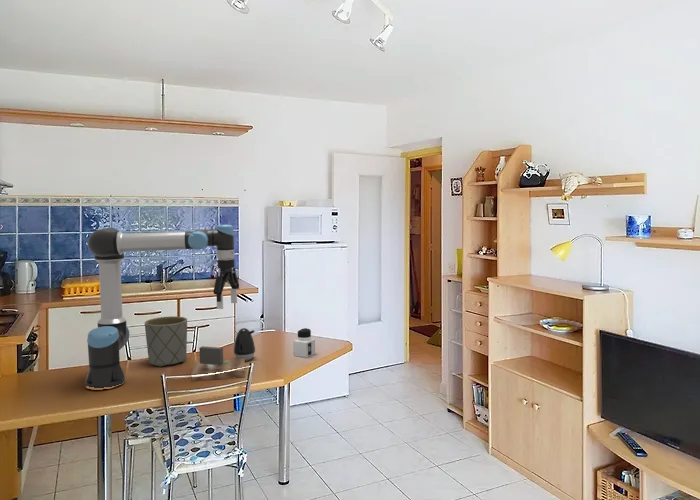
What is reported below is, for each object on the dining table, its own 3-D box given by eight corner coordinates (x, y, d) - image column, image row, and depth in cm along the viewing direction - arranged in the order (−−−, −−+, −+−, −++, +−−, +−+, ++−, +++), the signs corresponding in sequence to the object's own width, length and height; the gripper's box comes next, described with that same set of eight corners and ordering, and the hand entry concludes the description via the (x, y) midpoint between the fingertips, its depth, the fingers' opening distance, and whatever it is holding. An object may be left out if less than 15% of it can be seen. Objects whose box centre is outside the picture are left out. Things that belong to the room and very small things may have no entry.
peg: (220, 371, 230) (219, 349, 229) (199, 369, 232) (198, 348, 231) (233, 363, 241) (232, 342, 240) (213, 361, 243) (212, 341, 243)
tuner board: (191, 380, 226) (191, 373, 226) (195, 368, 244) (195, 361, 244) (244, 377, 231) (244, 369, 230) (244, 364, 248) (244, 358, 248)
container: (315, 354, 264) (315, 328, 263) (306, 358, 258) (305, 331, 257) (303, 351, 269) (302, 326, 267) (293, 355, 262) (292, 329, 261)
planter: (155, 370, 241) (153, 327, 239) (140, 361, 255) (138, 320, 253) (195, 362, 253) (194, 320, 251) (178, 353, 268) (177, 314, 266)
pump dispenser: (251, 362, 251) (250, 331, 250) (230, 361, 253) (229, 330, 252) (258, 356, 261) (258, 326, 260) (238, 355, 263) (238, 325, 262)
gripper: (220, 262, 226) (221, 311, 228) (245, 256, 251) (246, 301, 252) (204, 262, 228) (205, 311, 230) (230, 256, 252) (232, 300, 254)
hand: (227, 305), depth 241 cm, fingers open, 13 cm apart
